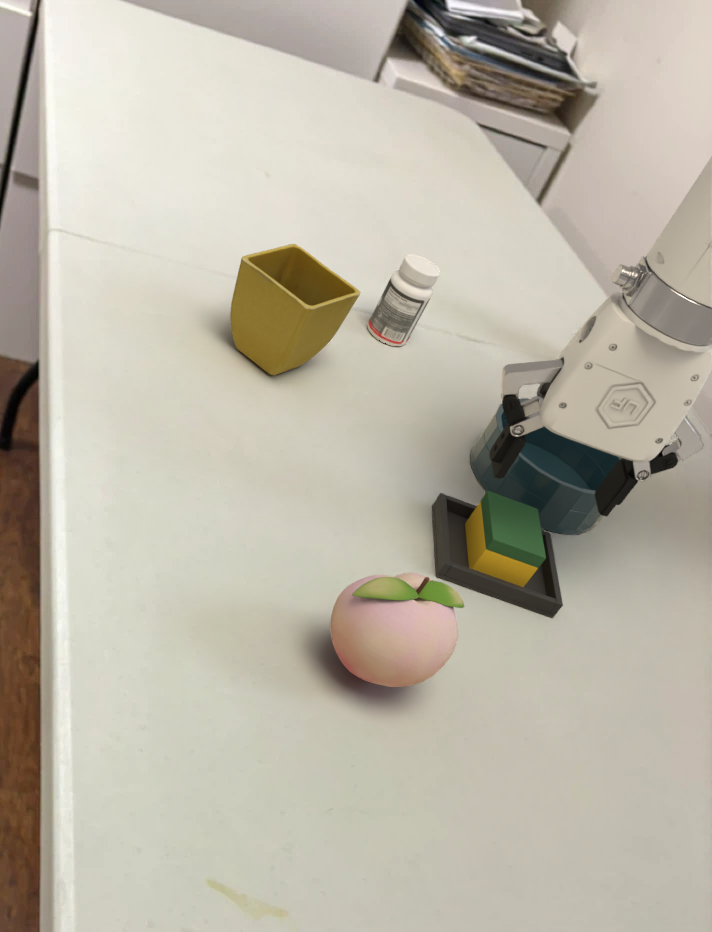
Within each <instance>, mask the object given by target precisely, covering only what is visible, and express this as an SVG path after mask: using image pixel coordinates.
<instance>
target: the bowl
mask: <svg viewBox="0 0 712 932" xmlns="http://www.w3.org/2000/svg"><path fill="white" fill-rule="evenodd" d="M528 399H529V398H527V397H525V398H523V397H521V398H519V400H520V403H521V402H524V401H526V400H528ZM507 423H508V421H507V419H506V416H505V413H504V410H503V406H502V403H500V404H499V406H498V407H497V409H496V410H495V412H494V413H493V415H492V417H491V418H490V420H489V421H488V423H487V424H486V426H485V428H484V429H483V431H482V432H481V434H480V435H479V437H478V438H477V440H476V442H475V444H474V445H473V447H472V449H471V451H470V455H469V463H470V467H471V470H472V472H473V474H474V477H475V478H476V480H477V481H478V483H479V485H480V486H481V487H482V488H483V489H484V491H485V493H486V492H487V491H490V492H493V493H496V494H499V495H501V496H504V497H507V498H509V499H512V500H515V501H517V502H520V503H523V504H526V505H528V506H531V507H534V508H536V509H538V514H539V519H540V525H541V530H544V531H547V532H550V533H551V532H553V533H556V534H560V535H574V536H575V535H581V534H584V533H587V532H589V531H591V530H593V529H594V528H595V527H596V526H597V524H599V523H600V522H601V520H602V519H603V518H604V517H605V516H603V515H600V513H599V512H598V507H597V503H596V498H595V492H596V490H597V489H598V487H599V486H600V485H601V483H602V482H603V481H604V479H605V478H606V477H607V475H608V474H609V473H610V471H611V470H612V469H613V467H614V466H615V464H616V463H617V462H618V461H619V460H620V459H622V458H620V457H617V456H615V455H612V454H609V453H606V452H603V451H601V450H598V449H595V448H592V447H589V446H587V445H584V444H581V443H578V442H576V441H573V440H570V439H568V438H565V437H562V436H560V435H557V434H555V433H553V432H551V431H550V430H548V429H547V428H546V427H545V426H544V427H542V428H540V429H537V430H535V431H532V432H530V433H528V434H525V439H526V443H525V446H524V447H523V449H522V450H521V452H520V453H519V455H518V456H517V458H516V459H515V461H514V462H513V464H512V465H511V467H510V468H509V470H508V471H507V473H506V475H505V476H504V477H503V478H501V479H498V478H495V477H493V469H492V461H491V460H490V457H489V454H490V450H491V448H492V446H493V445H494V443H495V442H496V440H497V438H498V437H499V435H500V434H501V432H502V431H503V429H504V427H505V426H506V424H507Z"/></svg>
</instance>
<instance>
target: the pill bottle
mask: <svg viewBox="0 0 712 932" xmlns="http://www.w3.org/2000/svg"><path fill="white" fill-rule="evenodd" d="M440 274H441V271H440V268H439V267H438V266H437V265H436V263H434V262H433V261H431V260H430V259H428V258H427V257H424V256H422V255H419V254H415V253H408V254H406V255H405V256H404V259H403V260H402V262H401V264H400V266H399V269H398V270H396V271H394V272H393V273H392V275H391V276H390V278H389V280H388V282H387V284H386V286H385V288H384V290H383V292H382V293H381V296H380V298H379V300H378V302H377V304H376V306H375V308H374V310H373V312H372V314H371V316H370V318H369V320H368V322H367V329H368V331H369V333H370V334H371V335H372V336H373V337H374V338H375V339H376V340H377V341H379V340H380V341H379V342H380V343H383V344H385V343H386V344H385V345H387V346H390V347H391V346H392V347H402V346H404V345H406V344H407V343H408V341H409V339H410V338H411V335H412V334H413V332H414V330H415V328H416V326H417V325H418V322H419V320H420V319H421V317H422V315H423V313H424V311H425V310H426V308H427V306H428V304H429V302H430V300H431V297H433V292H434V289H433V286H434V285H435V284H436V283H437V281H438V278H439V276H440Z"/></svg>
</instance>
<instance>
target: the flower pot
mask: <svg viewBox="0 0 712 932" xmlns="http://www.w3.org/2000/svg"><path fill="white" fill-rule="evenodd" d="M234 284H235V285H234V290H233V294H232V299H231V304H230V314H229V316H230V317H229V318H230V331H231V334H232V338H233V343H234V345H235V348H236V349H237V350H238V351H239V352H240V353H242V354H243V355H244V356H245V357H246V358H248V359H249V360H251V361H252V362H253V363H254V364H256V365H257V366H258V367H260V369H262V370H263V371H264V372H266V373H267V374H269V375H270V376H277V375H279V374H282V373H284V372H287V371H290V370H292V369H296V368H298V367H301V366H303V365H305V364H306V363H307V362H309V360H311V359H312V358H314V357H315V356H316V355H317V354H319V353H320V352H321V351H322V350H323V349H324V348H325V347H326V346H327V345H328V344H329V343H330V342H331V341H332V339H333V338H334V337H335V335H336V334H337V333H338V331H339V329H340V328H341V326H342V324H343V323H344V321H345V320H346V318H347V316H348V315H349V313H350V311H352V308H353V307H354V305H355V303H356V302H357V300H358V298H359V297H360V295H361V290H359V289H358V288H357V287H355V286H354V285H353V284H351V283H350V282H349V281H347V280H346V279H344V278H343V277H341V276H340V275H338V274H337V273H336V272H334V271H333V270H332V269H330V268H329V267H328V266H326V265H325V264H323V263H322V262H321V261H319V260H318V259H317V258H316V257H315V256H313V255H312V254H311V253H309V252H308V251H306V249H304V248H302V247H301V246H299V245H297V244H296V243H290V244H286V245H282V246H279V247H274V248H269V249H267V250H262V251H258V252H254V253H250V254H245V255H243V256H242V257H241V259H240V263H239V268H238V272H237V275H236V281H235V283H234Z"/></svg>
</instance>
